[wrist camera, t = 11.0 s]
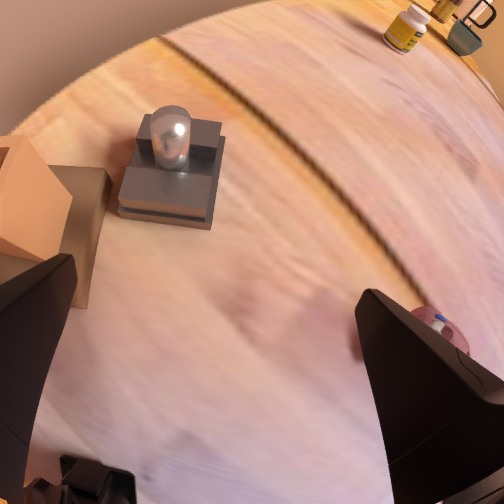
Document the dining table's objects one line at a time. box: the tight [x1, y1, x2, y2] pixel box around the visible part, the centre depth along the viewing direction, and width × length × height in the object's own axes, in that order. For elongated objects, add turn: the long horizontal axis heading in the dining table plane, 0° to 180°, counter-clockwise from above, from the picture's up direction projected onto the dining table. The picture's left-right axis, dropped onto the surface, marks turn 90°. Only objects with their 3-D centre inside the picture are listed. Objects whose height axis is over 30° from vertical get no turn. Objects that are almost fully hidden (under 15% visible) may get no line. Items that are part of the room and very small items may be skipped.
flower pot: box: [447, 18, 483, 56], centre depth 42 cm, size 9×9×9 cm
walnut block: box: [0, 165, 113, 309], centre depth 18 cm, size 10×9×2 cm
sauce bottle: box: [430, 0, 463, 24], centre depth 44 cm, size 7×6×20 cm
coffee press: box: [453, 0, 496, 29], centre depth 53 cm, size 17×16×30 cm
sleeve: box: [0, 135, 73, 262], centre depth 13 cm, size 5×5×8 cm
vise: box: [117, 105, 225, 230], centre depth 18 cm, size 8×7×8 cm
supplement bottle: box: [383, 5, 431, 55], centre depth 31 cm, size 5×5×10 cm
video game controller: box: [410, 306, 471, 358], centre depth 20 cm, size 10×5×7 cm, turn 50°
